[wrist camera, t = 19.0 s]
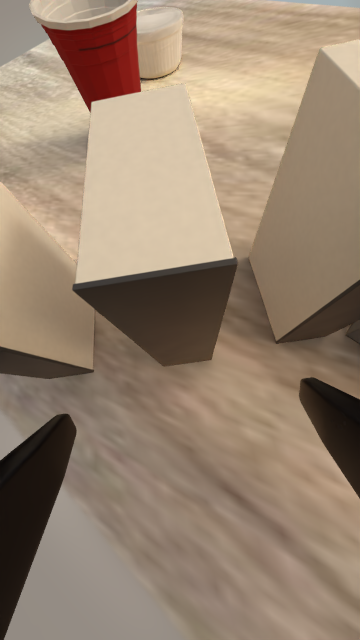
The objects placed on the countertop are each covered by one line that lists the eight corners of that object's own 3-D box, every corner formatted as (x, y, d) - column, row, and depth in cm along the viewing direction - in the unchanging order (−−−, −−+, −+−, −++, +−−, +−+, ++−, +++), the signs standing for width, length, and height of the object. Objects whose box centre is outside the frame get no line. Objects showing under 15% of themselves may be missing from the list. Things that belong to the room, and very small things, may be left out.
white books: (325, 336, 16) (664, 171, 4) (49, 379, 18) (-286, 339, 5) (288, 250, 20) (423, 24, 8) (58, 290, 21) (-134, 145, 9)
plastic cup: (111, 173, 27) (49, 18, 16) (80, 139, 31) (13, -4, 20) (175, 138, 29) (159, -26, 18) (138, 110, 32) (106, -39, 21)
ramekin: (170, 48, 40) (166, -1, 35) (196, 67, 36) (195, 15, 31) (119, 67, 39) (108, 20, 34) (140, 89, 35) (130, 39, 30)
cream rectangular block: (211, 359, 17) (238, 263, 5) (163, 366, 17) (71, 290, 5) (195, 270, 20) (186, 81, 8) (155, 276, 20) (89, 101, 8)
